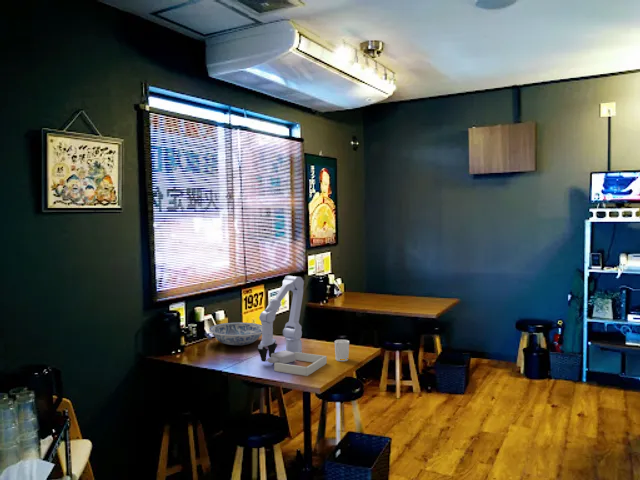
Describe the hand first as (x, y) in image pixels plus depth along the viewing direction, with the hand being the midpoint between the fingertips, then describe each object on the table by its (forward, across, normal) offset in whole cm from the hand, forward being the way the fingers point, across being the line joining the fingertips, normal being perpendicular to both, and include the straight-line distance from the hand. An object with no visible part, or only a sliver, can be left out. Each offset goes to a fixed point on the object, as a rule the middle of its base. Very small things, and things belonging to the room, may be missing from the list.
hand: (267, 359), depth 256 cm
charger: (+2, -2, +6) cm, 6 cm away
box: (+2, 0, +20) cm, 20 cm away
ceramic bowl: (+2, -25, -36) cm, 44 cm away
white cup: (+2, -21, +34) cm, 40 cm away
